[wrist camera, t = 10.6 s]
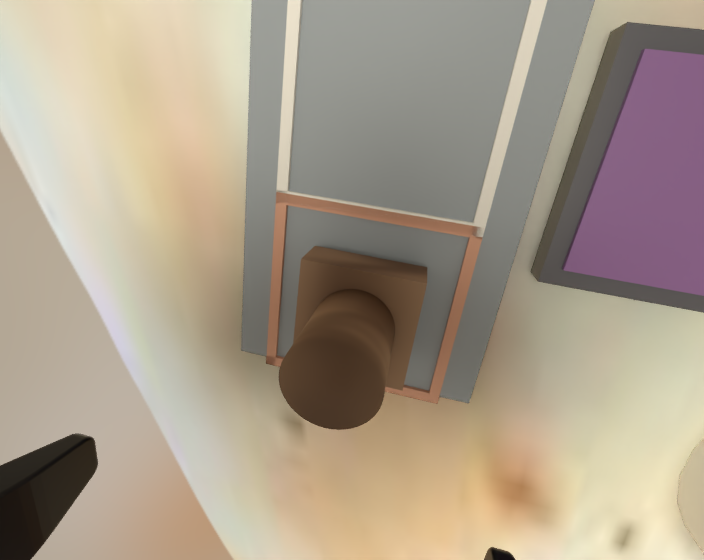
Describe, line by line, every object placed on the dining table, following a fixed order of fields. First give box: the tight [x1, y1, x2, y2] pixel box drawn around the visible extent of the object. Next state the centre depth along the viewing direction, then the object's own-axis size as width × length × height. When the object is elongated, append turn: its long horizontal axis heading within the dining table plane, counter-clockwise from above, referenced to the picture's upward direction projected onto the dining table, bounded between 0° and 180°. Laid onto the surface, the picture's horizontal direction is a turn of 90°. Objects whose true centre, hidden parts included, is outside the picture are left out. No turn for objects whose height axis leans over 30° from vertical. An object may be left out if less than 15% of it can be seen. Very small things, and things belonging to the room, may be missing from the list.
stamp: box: [279, 246, 427, 430], centre depth 15 cm, size 5×5×6 cm
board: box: [241, 0, 595, 404], centre depth 16 cm, size 12×18×1 cm
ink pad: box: [531, 22, 704, 312], centre depth 14 cm, size 8×9×1 cm
